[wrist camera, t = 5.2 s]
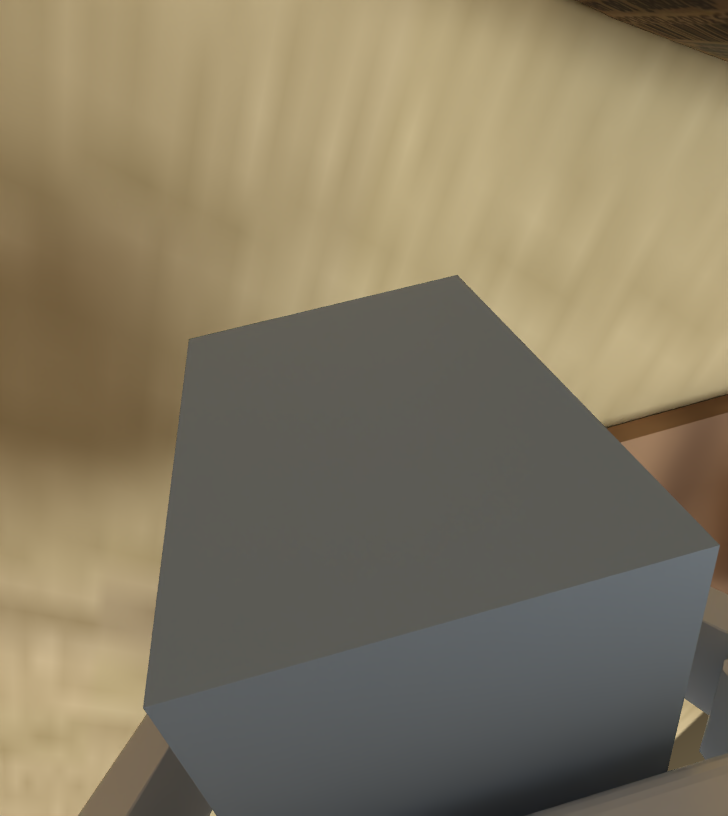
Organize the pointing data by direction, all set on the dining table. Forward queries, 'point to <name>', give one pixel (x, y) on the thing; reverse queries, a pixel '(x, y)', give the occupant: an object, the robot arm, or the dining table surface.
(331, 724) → the book
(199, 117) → the dining table surface
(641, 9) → the beverage carton
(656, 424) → the shelf
